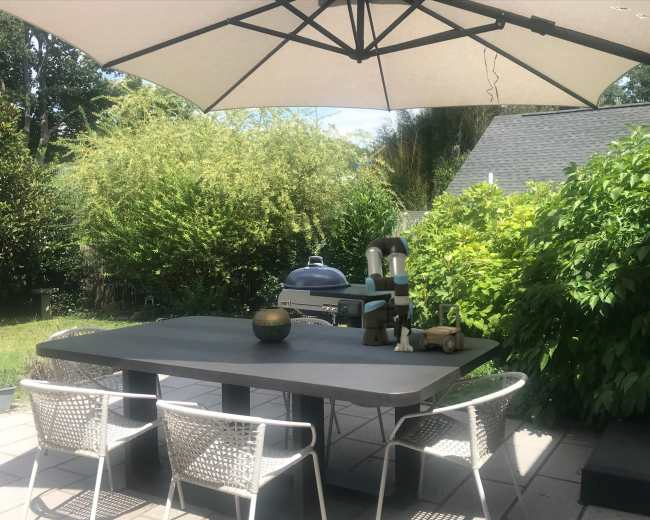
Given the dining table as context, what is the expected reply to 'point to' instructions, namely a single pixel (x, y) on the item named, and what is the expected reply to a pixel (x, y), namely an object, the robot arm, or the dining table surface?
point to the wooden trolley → (443, 334)
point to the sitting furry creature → (404, 341)
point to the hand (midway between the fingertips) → (403, 348)
